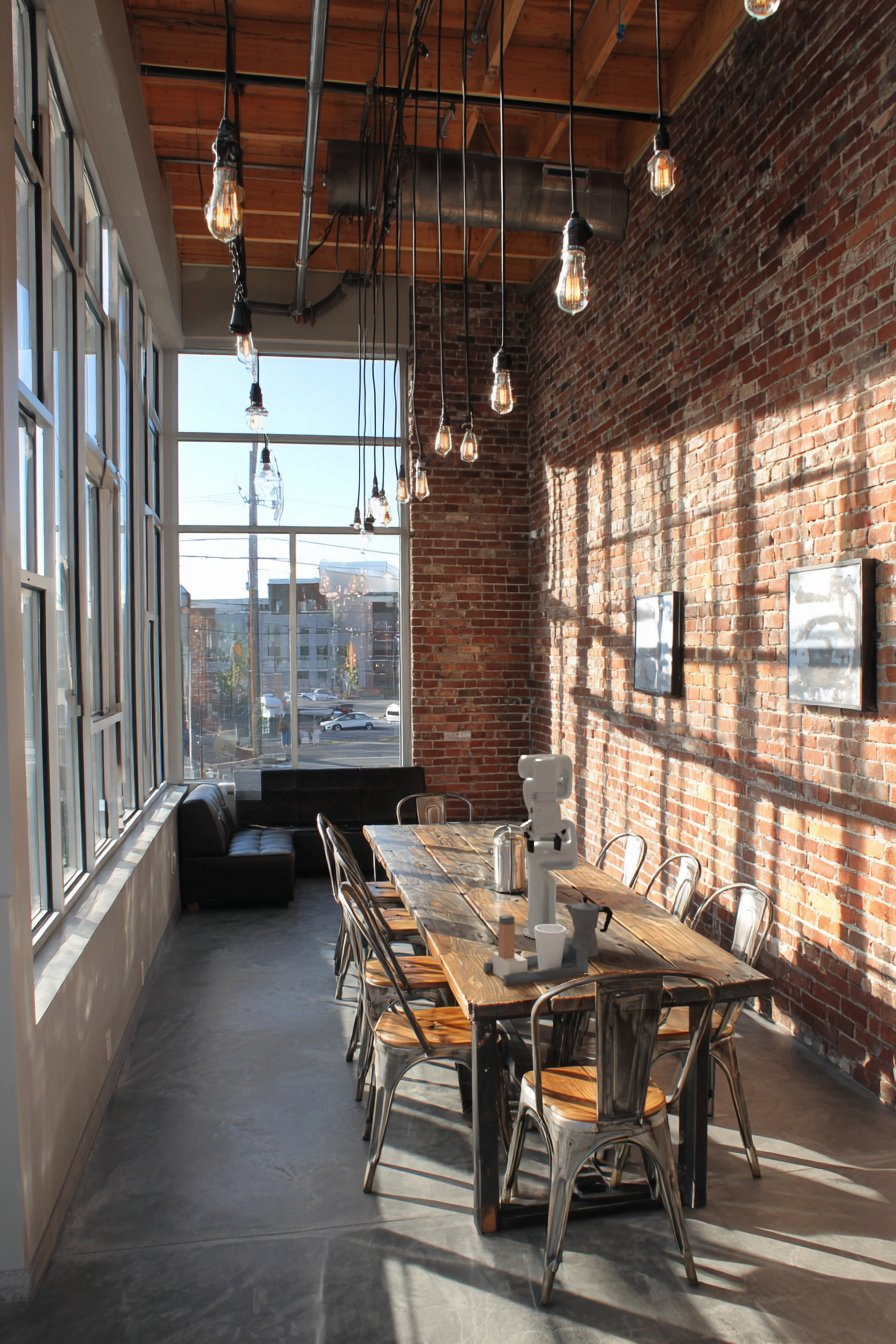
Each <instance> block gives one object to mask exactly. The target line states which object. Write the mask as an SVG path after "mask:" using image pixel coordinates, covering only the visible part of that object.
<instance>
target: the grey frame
mask: <svg viewBox="0 0 896 1344" xmlns="http://www.w3.org/2000/svg"><path fill="white" fill-rule="evenodd" d="M522 957H523V958H525V959H527V969H529V968H536V967H538V958H537V954H536V955H531V956H528V955H527V956H522ZM483 973H484V974H494V973H493V960H491V961H485V962H483ZM584 973H588V974H589V957H588V947H587V946H585V945H583V944H581V943H579V942H577V941H575V940H573V939H572V938H571V937H569V936H567V935H566V938H565V943H564V950H563V957H562V964H561V967H558V968H551V969H544V970H539V969H538V970H530V971H527V972H522V973H515V974H508V975H504V976H503V979H502V980H503V981H502V982H503V984H502V985H503V986H504V987H514V986H520V985H526V984H534V983H542V982H546V981H554V980H562V979H568V978H569V977H570V978H574V977H573V976H576V977H579V976H580V975H579V974H584Z"/></svg>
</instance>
